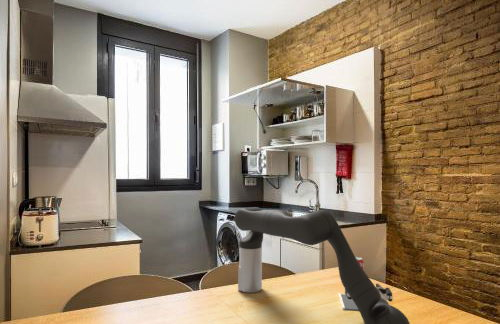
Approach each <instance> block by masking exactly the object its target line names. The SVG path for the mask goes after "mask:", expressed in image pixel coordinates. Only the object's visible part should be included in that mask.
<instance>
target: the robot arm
mask: <svg viewBox="0 0 500 324" xmlns="http://www.w3.org/2000/svg"><path fill="white" fill-rule="evenodd" d="M234 224H235V226H236V227H237V229H239V230H240V231H245V232H246V231H248V232H249V233H248V234H247V235H246V236H244V237H242V238H240V239H239V243H238V247H239V248H238V249H239V250H238V251H239V259H238V260H239V261H238V262H239V264H238V267H237V268H238V269H237V271H238V272H237V279H238V280H237V282H238V283H237V291H238V292H243V293H253V294H254V293H258V292H259V293H260V292H261V291H262V289H263V283H262V282H263V271H262V270H263V268H262V267H263V247H262V246H263V241H264V234H265V235H268V236H273V237H279V238H286V239H290V240H294V241H296V242H297V243H301V244H304V245H307V246H315V245H318V244H321V243H323V242H326V241H327V242H328V243H329V245H331V247H332V249H333V250H334V253H335V256H336V259H337V266H338V273H339V279H340V281H341V284H342V285H343V287H344V294H346V296H347V298H348V299H352V300H353V301H354V303H355V304H356V306H357V308H358V310H359V314H360V316H361V318H362V320H363V324H411V323H410V321H409V319H408V317H407V316H406V314H404V313H403V312H402V311H401V310H400V309H399V308H397V307H395V306H393V305H390V304H389V302H393V291H392V290H391V288H390V287H385V288H384V287H383V286H382V285H381V284H379V283H373V282H372V280H371V278H370V277H369V276H368V275H367V273H366V272H365V269H364V270H363V269H362V267H361V266H360V264H359V263H358V261H357V259H356V257H355V256H356V255H355V254H354V252H353V250H352V248H351V245H350V244H349V242H348V241H347V237H346V236H345V235H344V232H343V230H342V229H341V227H340V224H339V223H338V222H337V220H336V219H335V217H334V216H333V214H332V213H331V212H330V211H329V210H326V209H319V210H316V211H313V212H310V213H306V214H303V215H300V216H292V215H291V214H290V213H289V212H288V211H285V210H284V209H283V210H282V209H263V210H262V209H261V208H260V207H258V206H257V207H255V206H254V207H252V206H251V207H242V208H240V209H238V210H237V211H236V212H235V215H234Z"/></svg>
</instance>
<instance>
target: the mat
mask: <svg viewBox="0 0 500 324" xmlns="http://www.w3.org/2000/svg"><path fill="white" fill-rule="evenodd" d="M337 294H338V299H339V302H340V305H341V309H342V310H344V311H357V312H358V311H359V310H358V308H357V306H356V304H355V303H354V301H353V300H352V299H348V298H347V296H346V294H345V293H343V294H342V293H339V292H338V293H337Z"/></svg>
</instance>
